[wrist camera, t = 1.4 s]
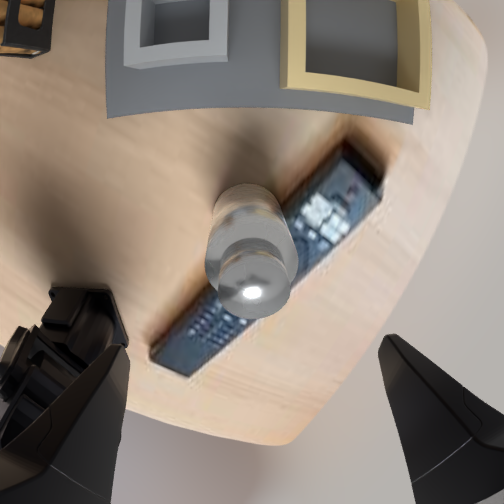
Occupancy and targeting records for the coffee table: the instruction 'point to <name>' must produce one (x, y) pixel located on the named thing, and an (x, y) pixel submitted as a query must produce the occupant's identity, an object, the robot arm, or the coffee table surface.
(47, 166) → the coffee table surface
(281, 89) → the board
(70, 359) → the robot arm
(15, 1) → the ammunition clip
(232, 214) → the steel fitting
